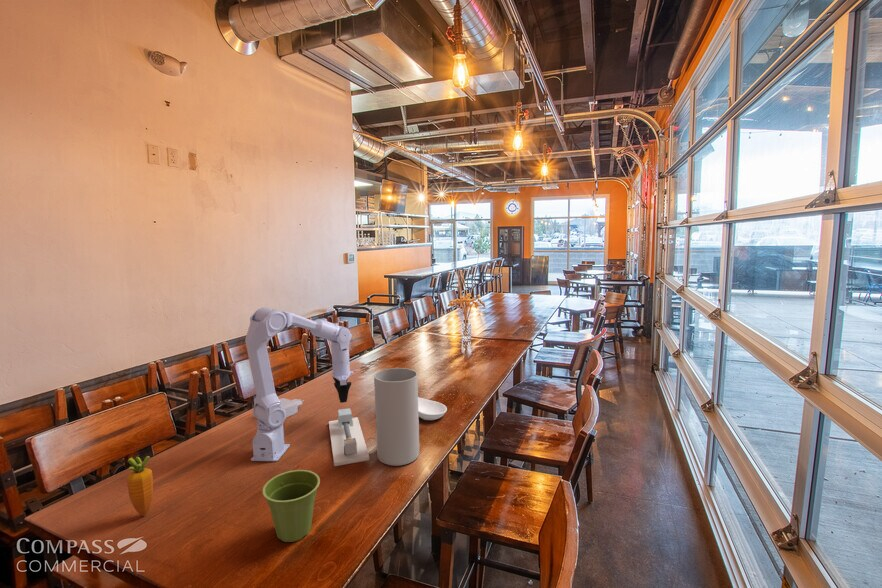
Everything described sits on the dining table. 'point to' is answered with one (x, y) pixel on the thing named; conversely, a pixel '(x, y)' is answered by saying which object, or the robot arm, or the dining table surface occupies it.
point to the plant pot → (292, 502)
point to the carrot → (140, 485)
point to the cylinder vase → (397, 416)
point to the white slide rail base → (347, 443)
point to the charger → (290, 406)
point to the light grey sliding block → (345, 417)
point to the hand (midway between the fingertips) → (342, 398)
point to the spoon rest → (430, 409)
